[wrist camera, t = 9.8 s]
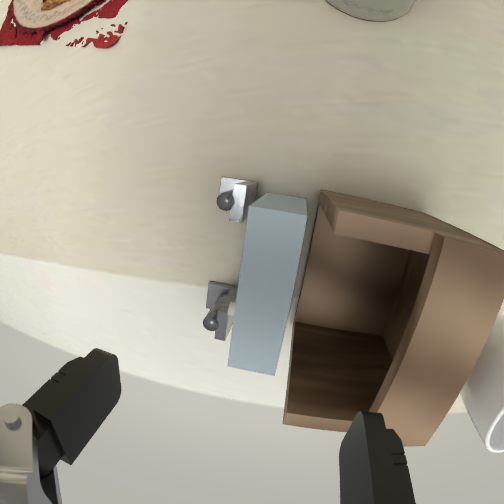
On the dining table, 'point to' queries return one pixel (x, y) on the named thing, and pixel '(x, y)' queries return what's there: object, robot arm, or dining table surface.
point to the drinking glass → (488, 390)
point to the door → (266, 281)
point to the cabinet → (388, 317)
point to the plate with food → (55, 20)
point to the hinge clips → (220, 295)
